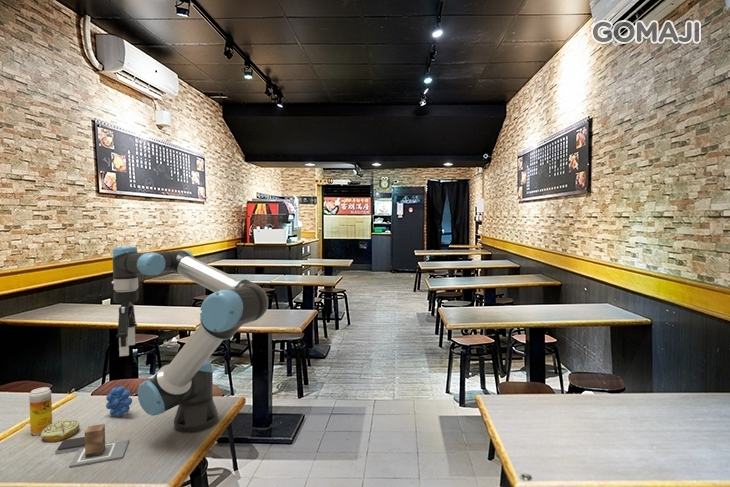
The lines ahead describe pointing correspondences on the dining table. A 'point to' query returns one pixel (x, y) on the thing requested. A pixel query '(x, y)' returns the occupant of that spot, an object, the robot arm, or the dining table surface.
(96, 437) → the brown wooden block
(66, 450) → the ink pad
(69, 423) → the decorated donut
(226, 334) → the robot arm
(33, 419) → the beer can
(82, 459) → the board
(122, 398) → the grapes
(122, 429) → the dining table surface
